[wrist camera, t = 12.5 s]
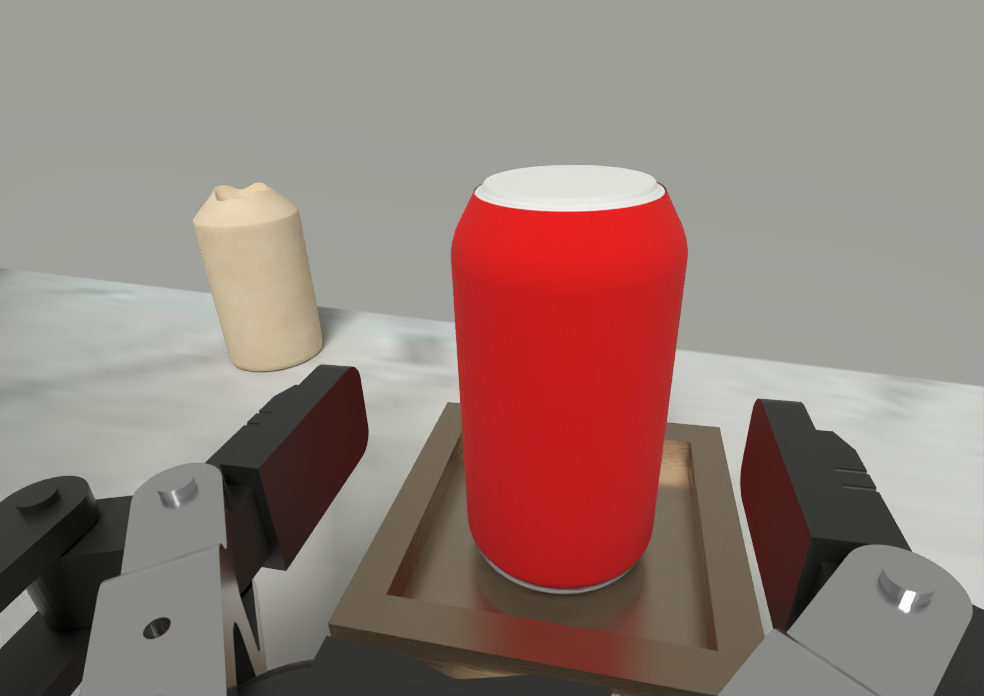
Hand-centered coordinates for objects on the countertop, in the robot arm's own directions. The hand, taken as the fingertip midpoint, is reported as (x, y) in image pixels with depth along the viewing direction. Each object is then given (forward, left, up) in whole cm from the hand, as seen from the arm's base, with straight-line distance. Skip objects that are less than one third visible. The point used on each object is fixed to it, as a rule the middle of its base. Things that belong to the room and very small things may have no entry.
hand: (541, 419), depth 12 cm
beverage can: (0, +5, -8) cm, 10 cm away
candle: (-19, +18, -9) cm, 28 cm away
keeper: (0, +5, -9) cm, 11 cm away
